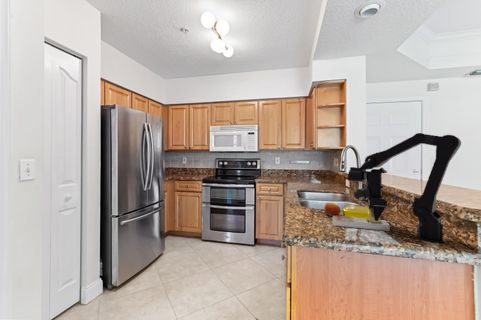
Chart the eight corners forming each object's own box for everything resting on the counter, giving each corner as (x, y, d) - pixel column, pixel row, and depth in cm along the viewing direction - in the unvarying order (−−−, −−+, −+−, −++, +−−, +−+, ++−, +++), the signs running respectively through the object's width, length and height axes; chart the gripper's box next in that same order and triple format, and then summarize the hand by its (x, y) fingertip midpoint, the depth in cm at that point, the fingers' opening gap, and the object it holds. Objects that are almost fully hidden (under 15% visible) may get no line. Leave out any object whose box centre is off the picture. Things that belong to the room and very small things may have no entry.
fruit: (318, 212, 120) (324, 199, 121) (327, 218, 122) (333, 205, 123) (328, 215, 112) (335, 201, 113) (339, 222, 114) (345, 208, 116)
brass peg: (378, 226, 99) (378, 208, 99) (380, 229, 95) (380, 210, 95) (368, 225, 100) (368, 207, 100) (369, 228, 97) (369, 209, 96)
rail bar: (385, 225, 99) (385, 219, 99) (389, 231, 92) (389, 224, 92) (332, 220, 108) (332, 215, 108) (332, 225, 100) (332, 219, 100)
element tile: (375, 222, 106) (375, 212, 106) (341, 217, 115) (341, 208, 115) (378, 216, 118) (378, 207, 118) (348, 212, 127) (348, 204, 127)
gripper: (351, 180, 109) (351, 211, 109) (356, 184, 92) (356, 221, 92) (377, 181, 105) (377, 213, 105) (387, 185, 88) (387, 224, 88)
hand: (374, 217), depth 98 cm, fingers open, 9 cm apart
